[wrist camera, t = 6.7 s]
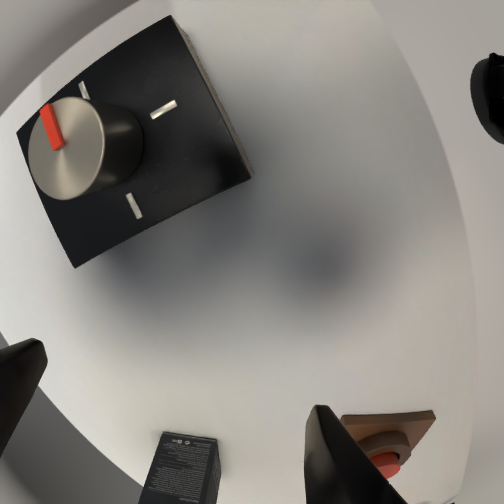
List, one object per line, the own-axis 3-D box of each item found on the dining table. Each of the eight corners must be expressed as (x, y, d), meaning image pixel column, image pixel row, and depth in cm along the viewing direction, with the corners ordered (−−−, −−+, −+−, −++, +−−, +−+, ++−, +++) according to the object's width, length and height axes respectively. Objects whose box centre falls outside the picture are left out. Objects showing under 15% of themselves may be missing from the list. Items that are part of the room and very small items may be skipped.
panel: (185, 32, 14) (169, 13, 11) (254, 173, 17) (251, 178, 14) (43, 131, 16) (14, 132, 13) (97, 253, 19) (72, 270, 16)
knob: (157, 162, 14) (117, 168, 10) (93, 200, 15) (45, 219, 11) (125, 89, 13) (79, 74, 9) (65, 133, 14) (13, 135, 10)
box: (161, 430, 25) (131, 518, 15) (217, 438, 25) (201, 533, 15) (173, 467, 28) (153, 540, 18) (221, 474, 27) (210, 551, 17)
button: (402, 448, 21) (407, 462, 20) (387, 467, 22) (390, 480, 21) (369, 452, 21) (373, 466, 20) (355, 470, 23) (358, 484, 21)
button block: (432, 410, 23) (442, 431, 20) (395, 459, 26) (401, 478, 23) (342, 415, 23) (348, 440, 20) (315, 464, 26) (317, 486, 23)
